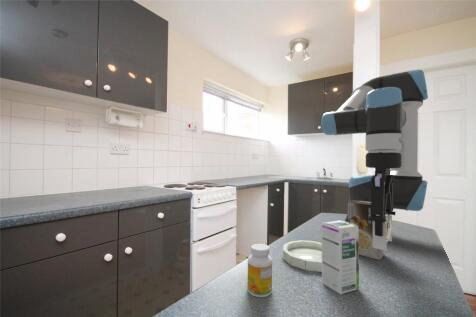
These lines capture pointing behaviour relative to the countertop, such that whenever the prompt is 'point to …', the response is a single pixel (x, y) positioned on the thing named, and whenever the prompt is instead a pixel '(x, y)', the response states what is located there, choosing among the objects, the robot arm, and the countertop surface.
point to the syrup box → (340, 256)
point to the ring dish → (304, 254)
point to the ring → (388, 227)
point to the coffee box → (363, 228)
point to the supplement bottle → (259, 271)
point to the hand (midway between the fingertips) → (382, 243)
